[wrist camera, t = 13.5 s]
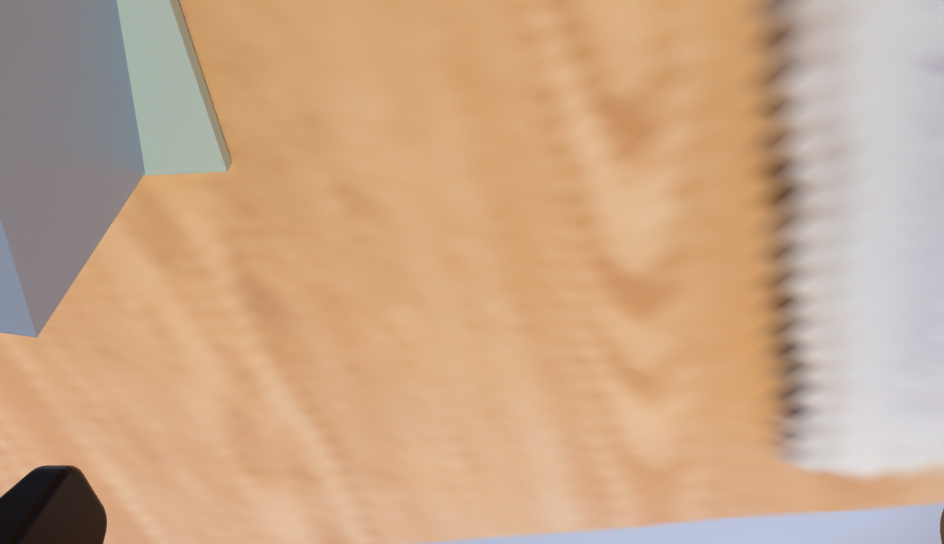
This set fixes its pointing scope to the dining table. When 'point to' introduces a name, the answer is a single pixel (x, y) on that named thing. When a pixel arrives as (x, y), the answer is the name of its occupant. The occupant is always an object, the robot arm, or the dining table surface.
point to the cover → (59, 148)
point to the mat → (169, 91)
